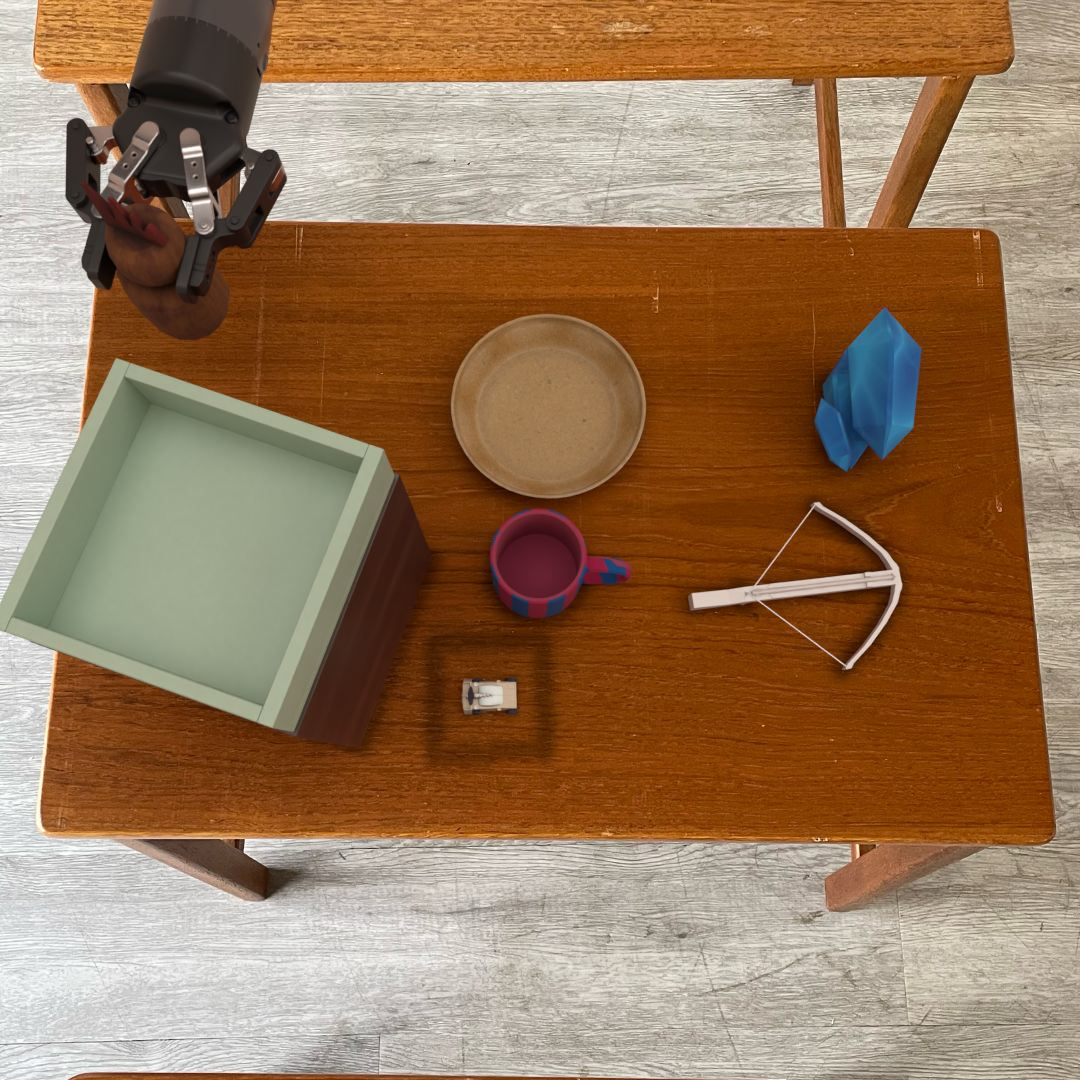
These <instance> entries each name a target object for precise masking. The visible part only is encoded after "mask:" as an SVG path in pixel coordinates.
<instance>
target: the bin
mask: <svg viewBox="0 0 1080 1080" xmlns="http://www.w3.org/2000/svg"><path fill="white" fill-rule="evenodd" d="M102 384H103V385H102V386H101V389H100V391H99V393H98V395H97V398H96V399H95V402H94V404H93V406H92V408H91V410H90V412H89V414H88V416H87V418H86V421H85V422H84V425H83V426H82V429H81V431H80V433H79V435H78V437H77V440H76V443H75V444H74V446H73V448H72V450H71V452H70V454H69V456H68V458H67V461H66V463H65V465H64V467H63V469H62V472H61V474H60V475H59V478H58V479H57V482H56V484H55V487H54V488H53V490H52V493H51V495H50V496H49V498H48V501H47V504H46V505H45V507H44V509H43V512H42V513H41V516H40V518H39V520H38V523H37V524H36V526H35V528H34V531H33V533H32V535H31V537H30V539H29V541H28V543H27V546H26V547H25V550H24V552H23V554H22V556H21V558H20V560H19V562H18V565H17V567H16V570H15V571H14V573H13V575H12V578H11V580H10V582H9V584H8V586H7V588H6V590H5V591H4V592H5V593H4V594H3V596H2V598H1V601H0V632H3V633H6V634H9V635H12V636H14V637H17V638H20V639H23V640H26V641H28V642H30V641H31V642H30V643H32V642H34V643H33V644H35V643H37V644H36V645H38V644H39V645H38V646H40V645H42V646H41V647H43V646H45V647H44V648H46V647H48V648H47V649H49V648H51V649H53V650H52V651H54V650H56V651H55V652H57V651H59V652H58V653H60V652H62V653H61V654H63V653H65V654H67V655H66V656H68V655H70V656H69V657H71V656H73V657H72V658H74V657H76V658H75V659H77V658H78V659H77V660H79V659H81V660H80V661H82V660H84V661H83V662H85V661H87V662H86V663H88V662H90V663H89V664H91V663H92V664H91V665H93V664H95V665H94V666H96V665H98V666H97V667H99V666H101V667H100V668H102V667H104V668H106V669H105V670H107V669H109V670H108V671H110V670H112V671H111V672H113V671H115V672H114V673H116V672H117V673H116V674H118V673H120V674H119V675H121V674H123V675H122V676H124V675H126V676H125V677H127V676H129V677H128V678H130V677H131V678H130V679H132V678H134V679H133V680H135V679H137V680H136V681H138V680H140V681H139V682H141V681H143V682H145V683H144V684H146V683H148V684H147V685H149V684H151V685H150V686H152V685H154V686H153V687H155V686H156V687H155V688H157V687H159V688H158V689H160V688H162V689H161V690H163V689H165V690H164V691H166V690H168V691H167V692H169V691H170V692H169V693H171V692H173V693H172V694H174V693H176V694H175V695H177V694H179V695H178V696H180V695H182V696H184V697H183V698H185V697H187V698H186V699H188V698H190V699H189V700H191V699H193V700H192V701H194V700H195V701H194V702H196V701H198V702H197V703H199V702H201V703H200V704H202V703H204V704H203V705H205V704H207V705H206V706H208V705H209V706H208V707H210V706H212V707H211V708H213V707H215V708H214V709H216V708H218V709H217V710H219V709H221V710H223V711H222V712H224V711H226V712H225V713H227V712H229V713H228V714H230V713H232V714H231V715H233V714H234V715H233V716H235V715H237V716H236V717H238V716H240V717H239V718H241V717H243V718H242V719H244V718H246V719H245V720H247V719H248V720H247V721H249V720H251V721H250V722H252V721H254V722H253V723H255V722H257V723H256V724H258V723H259V724H258V725H260V724H262V725H261V726H263V725H265V726H264V727H266V726H268V727H267V728H269V727H271V728H270V729H272V728H275V729H280V730H285V731H291V732H293V731H294V730H295V727H296V725H297V722H298V720H299V717H300V715H301V712H302V710H303V707H304V705H305V702H306V700H307V697H308V695H309V692H310V689H311V687H312V684H313V682H314V679H315V677H316V674H317V672H318V669H319V667H320V664H321V662H322V659H323V657H324V654H325V652H326V649H327V646H328V644H329V641H330V639H331V636H332V634H333V631H334V629H335V626H336V624H337V621H338V619H339V616H340V614H341V611H342V608H343V606H344V603H345V601H346V598H347V596H348V593H349V591H350V588H351V586H352V583H353V581H354V578H355V576H356V573H357V571H358V568H359V565H360V563H361V560H362V558H363V555H364V553H365V550H366V548H367V545H368V543H369V540H370V538H371V535H372V533H373V530H374V527H375V525H376V522H377V520H378V517H379V515H380V512H381V510H382V507H383V505H384V502H385V500H386V497H387V495H388V492H389V490H390V487H391V484H392V482H393V479H394V473H393V472H394V470H393V467H392V465H391V463H390V461H389V459H388V456H387V453H386V451H385V449H384V448H382V447H379V446H375V445H373V444H369V443H367V442H364V441H361V440H358V439H355V438H352V437H349V436H346V435H343V434H340V433H337V432H334V431H332V430H329V429H325V428H323V427H320V426H317V425H314V424H311V423H308V422H305V421H302V420H299V419H297V418H295V417H290V416H288V415H285V414H282V413H279V412H276V411H272V410H270V409H268V408H264V407H261V406H258V405H255V404H253V403H251V402H246V401H243V400H241V399H239V398H235V397H232V396H229V395H226V394H223V393H220V392H217V391H214V390H211V389H208V388H205V387H203V386H200V385H197V384H194V383H191V382H188V381H186V380H182V379H179V378H176V377H174V376H170V375H167V374H165V373H162V372H158V371H156V370H152V369H150V368H147V367H144V366H141V365H139V364H135V363H132V362H129V361H127V360H123V359H120V358H115V359H114V361H113V363H112V366H111V368H110V370H109V372H108V373H107V376H106V377H105V380H104V382H103V383H102ZM51 649H50V650H51ZM65 654H64V655H65ZM104 668H103V669H104ZM143 682H142V683H143ZM182 696H181V697H182ZM221 710H220V711H221Z"/></svg>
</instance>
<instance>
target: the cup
mask: <svg viewBox="0 0 1080 1080" xmlns="http://www.w3.org/2000/svg"><path fill="white" fill-rule="evenodd" d="M491 541H492V542H491V544H490V550H489V562H490V570H491V576H492V584H493V588H494V590H495V593H496V595H497V596H498V598H499V600H500V601H501V602H502V603H503V604H504V606H505V607H507V608H508V609H509V610H510V611H512V612H514V613H515V614H517V615H519V616H522V617H524V618H531V619H543V618H544V619H546V618H549V617H552V616H555V615H557V614H560V613H561V612H563V611H564V610H565V609H566V608H568V607H569V606H570V604H572V602H573V601H574V600H575V598H576V596H577V595H578V593H579V590H580V588H581V586H582V585H617V584H622V583H626V582H628V581H629V580H631V578H632V565H631V564H630V563H629V562H628V561H626V560H623V559H620V558H615V557H608V556H607V557H606V556H593V555H592V556H590V555H588V549H587V545H586V542H585V538H584V537H583V535H582V533H581V531H580V528H578V527H577V526H576V525H575V523H574V522H573V521H572V520H570V518H568V517H567V516H565V515H564V514H561V513H560V512H557V511H554V510H552V509H546V508H530V509H525V510H522V511H520V512H517V513H515V514H514V515H511V516H510V517H509V518H507V519H506V520H505V521H504V522H503V523H502V525H500V526H499V528H498V529H497V531H496V532H495V534H494V536H493V539H492V540H491Z"/></svg>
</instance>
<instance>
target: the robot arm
mask: <svg viewBox="0 0 1080 1080" xmlns="http://www.w3.org/2000/svg"><path fill="white" fill-rule="evenodd" d="M277 5H278V0H152V4H151V7H150V12H149V15H148V19H147V21H146V25H145V29H144V32H143V36H142V39H141V43H140V47H139V50H138V54H137V56H136V60H135V64H134V68H133V72H132V75H131V79H130V82H129V86H128V94H127V101H126V106H125V108H124V109H123V111H122V112H121V114H119V116H117V118H115V120H114V121H113V123H112V125H93V126H88V124H87V122H86V121H85V120H84V119H83V118H80V117H74V118H71V119H69V120H68V121H67V123H66V129H65V130H66V133H65V187H64V188H65V189H64V190H65V191H64V192H65V195H64V197H65V199H66V201H67V203H68V204H69V205H70V206H71V207H72V209H73V210H74V211H75V212H76V214H77V215H78V216H79V218H80V219H81V220H82V222H83V223H85V224H88V225H90V227H89V231H88V234H87V238H86V242H85V245H84V249H83V252H82V256H81V260H80V262H81V268H82V269H83V271H84V272H85V273H86V276H87V279H88V280H89V281H90V282H91V284H92V285H93V286H94V287H95V288H96V289H99V290H104V291H110V290H111V289H112V287H113V284H114V280H115V277H116V274H117V272H116V269H117V267H116V266H115V264H114V263H113V261H112V260H111V258H110V257H109V254H108V250H107V247H106V243H105V229H106V225H107V224H106V223H105V221H104V220H103V218H102V217H101V215H100V214H99V212H98V211H97V209H96V208H95V206H94V205H93V203H92V201H91V200H90V198H89V197H88V195H87V194H86V192H85V191H84V189H83V187H82V186H81V182H82V181H83V182H85V183H87V184H88V185H89V186H90V187H91V188H92V189H94V190H95V191H96V192H97V193H98V194H99V195H100V196H102V197H103V198H104V199H105V200H106V201H107V202H108V203H109V201H108V197H109V196H112V197H113V198H114V199H115V200H116V201H117V202H118V203H119V204H120V205H121V206H122V207H125V206H128V205H131V204H135V203H137V204H149V205H151V204H152V202H153V201H154V199H155V198H159V199H165V198H175V199H178V200H181V201H183V202H185V203H190V205H191V210H192V212H191V213H192V220H193V228H194V234H188V239H187V243H186V246H185V250H184V254H183V258H182V262H181V266H180V270H179V274H178V278H177V281H176V292H177V294H178V295H179V297H180V298H181V300H182V301H183V302H184V303H189V304H196V303H197V302H198V298H199V296H202V297H205V295H206V294H207V293H208V291H209V290H210V286H211V281H212V278H213V274H214V270H215V266H217V261H218V258H219V255H220V253H221V252H222V251H223V250H224V249H226V248H231V247H238V248H239V249H242V250H248V249H250V248H251V247H252V246H253V245H254V243H255V242H256V240H257V238H258V236H259V234H260V232H261V230H262V228H263V226H264V225H265V223H266V221H267V218H268V217H269V216H270V214H271V212H272V210H273V208H274V206H275V204H276V203H277V200H278V199H279V197H280V195H281V193H282V191H283V190H284V187H285V186H286V184H287V182H288V176H287V173H286V168H285V167H284V164H283V162H282V159H281V157H280V154H279V153H278V152H277V150H275V149H272V148H268V149H264V150H263V151H262V152H261V151H259V150H256V149H254V148H251V147H249V146H248V143H247V136H248V135H249V132H250V128H251V124H252V121H253V117H254V113H255V109H256V106H257V105H256V104H257V101H258V97H259V92H260V89H261V85H262V81H263V77H264V74H265V72H266V71H267V68H268V64H269V52H270V47H271V42H272V35H273V33H272V32H273V24H274V23H273V22H274V16H275V12H276V9H277ZM117 147H118V150H119V151H120V154H121V156H120V158H119V159H118V161H116V163H115V165H114V166H113V167H112V169H111V170H110V172H109V173H108V177H107V185H106V186H105V187H104V188H103V190H102V192H101V181H102V180H101V179H102V178H101V176H102V175H101V173H102V172H101V171H102V170H101V168H102V167H101V166H105V165H107V163H108V159H109V156H110V153H111V151H112V150H113V149H114V148H117ZM243 169H244V172H243V173H244V175H243V176H244V177H245V179H246V180H245V182H244V184H243V185H242V188H241V189H240V191H239V193H238V195H237V197H236V199H235V200H234V202H233V204H232V206H231V207H230V209H229V211H228V213H227V215H226V217H223V212H222V211H223V210H222V204H221V197H220V195H221V194H220V190H219V189H220V188H221V187H223V186H224V185H225V184H226V183H228V182H229V181H231V180H232V178H234V177H235V176H236V175H237V174H238V173H240V172H241V171H242V170H243ZM135 182H136V184H135ZM109 204H110V203H109Z"/></svg>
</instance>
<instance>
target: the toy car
mask: <svg viewBox="0 0 1080 1080" xmlns="http://www.w3.org/2000/svg"><path fill="white" fill-rule="evenodd" d="M517 686H518V678H517V677H512V676H511V677H510V676H509V677H505V678H504V680H499V679H497V680H485V678H480V677H475V678H463V682H462V693H461V694H460V697H461V703H460V704H462V711H463V714H464V715H473V716H476V715H477V716H479V715H482V714H486V712H503V711H505V715H518V714H519V713H518V711H519V710H518V709H519V708H518V705H517V704H518V703H517Z"/></svg>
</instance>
